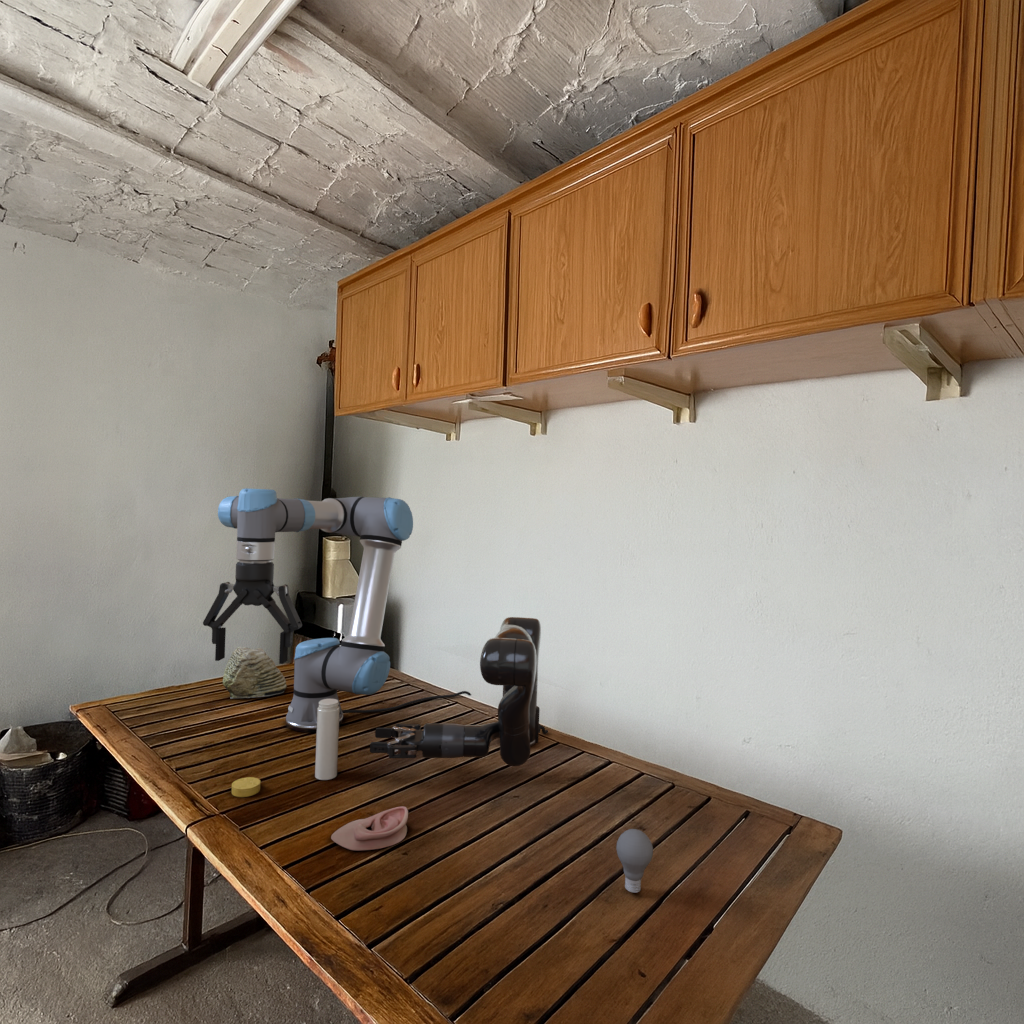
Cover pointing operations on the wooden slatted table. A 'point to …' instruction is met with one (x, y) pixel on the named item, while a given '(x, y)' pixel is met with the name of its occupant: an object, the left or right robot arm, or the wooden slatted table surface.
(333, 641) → the left robot arm
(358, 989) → the wooden slatted table surface
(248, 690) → the fossil
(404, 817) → the anatomical model
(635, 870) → the light bulb
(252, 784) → the lid
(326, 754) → the jar
